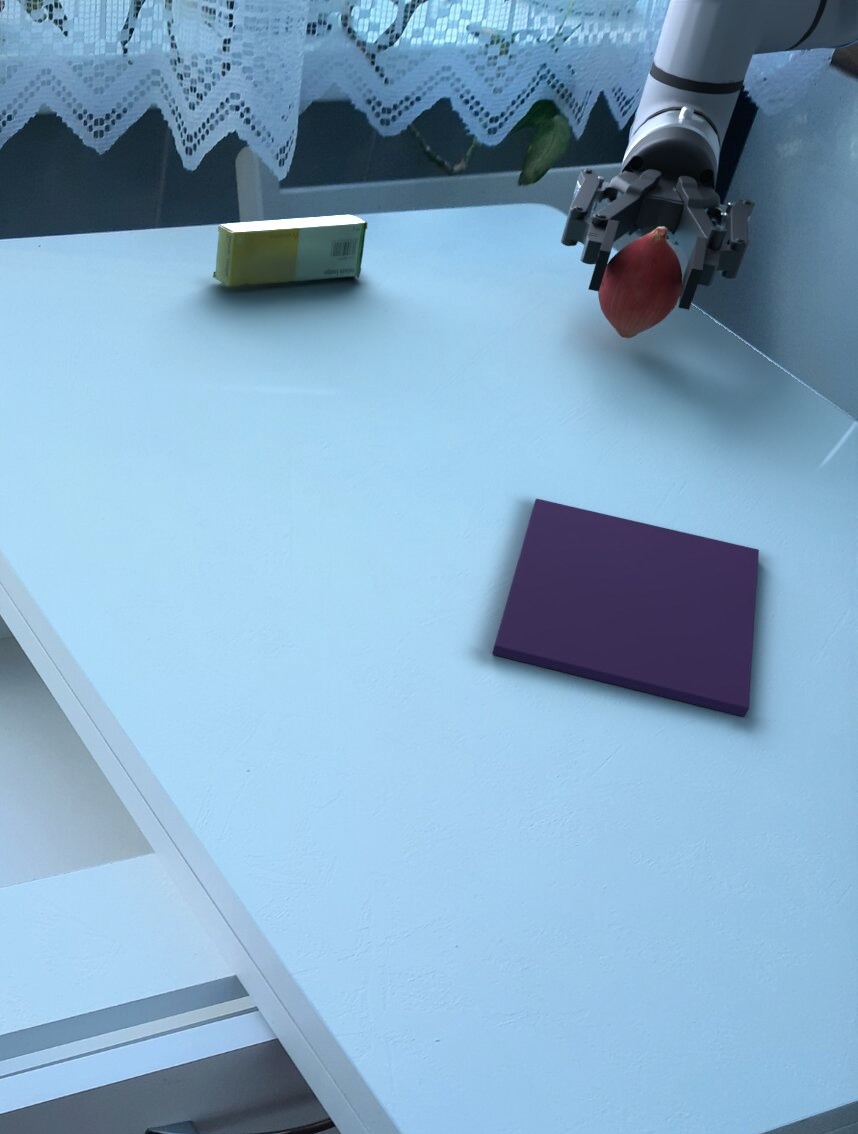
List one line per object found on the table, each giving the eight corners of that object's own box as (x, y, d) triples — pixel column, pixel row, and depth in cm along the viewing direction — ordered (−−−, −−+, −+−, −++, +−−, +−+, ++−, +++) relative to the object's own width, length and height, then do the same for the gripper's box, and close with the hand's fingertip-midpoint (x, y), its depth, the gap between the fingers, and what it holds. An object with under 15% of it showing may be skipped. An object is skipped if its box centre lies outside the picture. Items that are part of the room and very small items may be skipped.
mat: (755, 557, 95) (759, 549, 94) (744, 717, 83) (749, 708, 82) (533, 506, 97) (535, 497, 97) (491, 654, 85) (494, 645, 85)
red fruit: (573, 336, 114) (607, 224, 108) (602, 313, 117) (636, 203, 111) (646, 361, 112) (685, 248, 106) (673, 337, 115) (712, 226, 110)
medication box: (344, 267, 121) (352, 212, 119) (362, 277, 120) (371, 222, 117) (211, 277, 117) (216, 221, 115) (227, 288, 115) (233, 231, 113)
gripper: (565, 103, 121) (527, 197, 106) (805, 147, 118) (801, 251, 103) (539, 203, 126) (499, 307, 111) (767, 248, 123) (758, 360, 108)
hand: (644, 279), depth 107 cm, fingers closed on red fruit, 6 cm apart
